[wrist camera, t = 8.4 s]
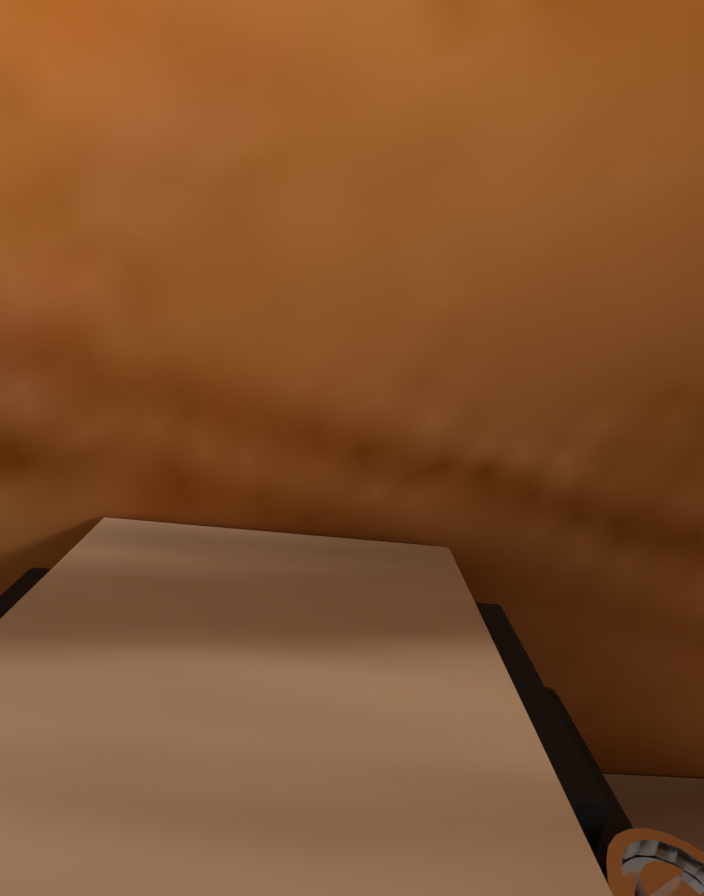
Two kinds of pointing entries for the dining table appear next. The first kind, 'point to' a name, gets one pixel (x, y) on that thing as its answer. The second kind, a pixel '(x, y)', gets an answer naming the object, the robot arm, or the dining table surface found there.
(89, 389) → the dining table surface
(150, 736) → the beige t-shaped block
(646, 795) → the plank
